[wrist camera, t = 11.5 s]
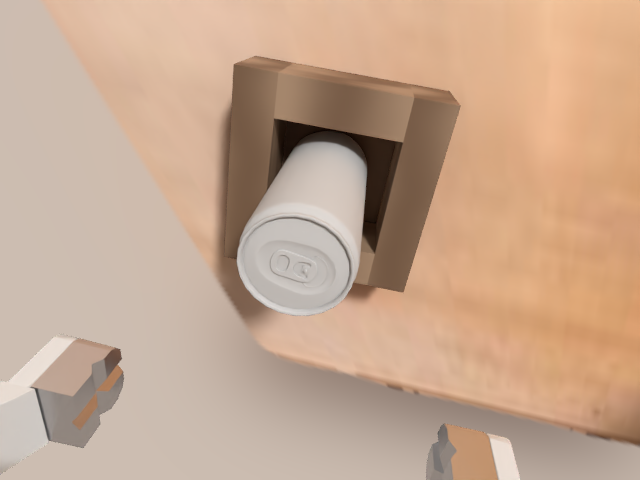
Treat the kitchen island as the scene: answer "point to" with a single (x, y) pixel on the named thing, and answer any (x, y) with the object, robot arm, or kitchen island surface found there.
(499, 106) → the kitchen island surface
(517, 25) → the kitchen island surface
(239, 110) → the walnut holder
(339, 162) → the beverage can
